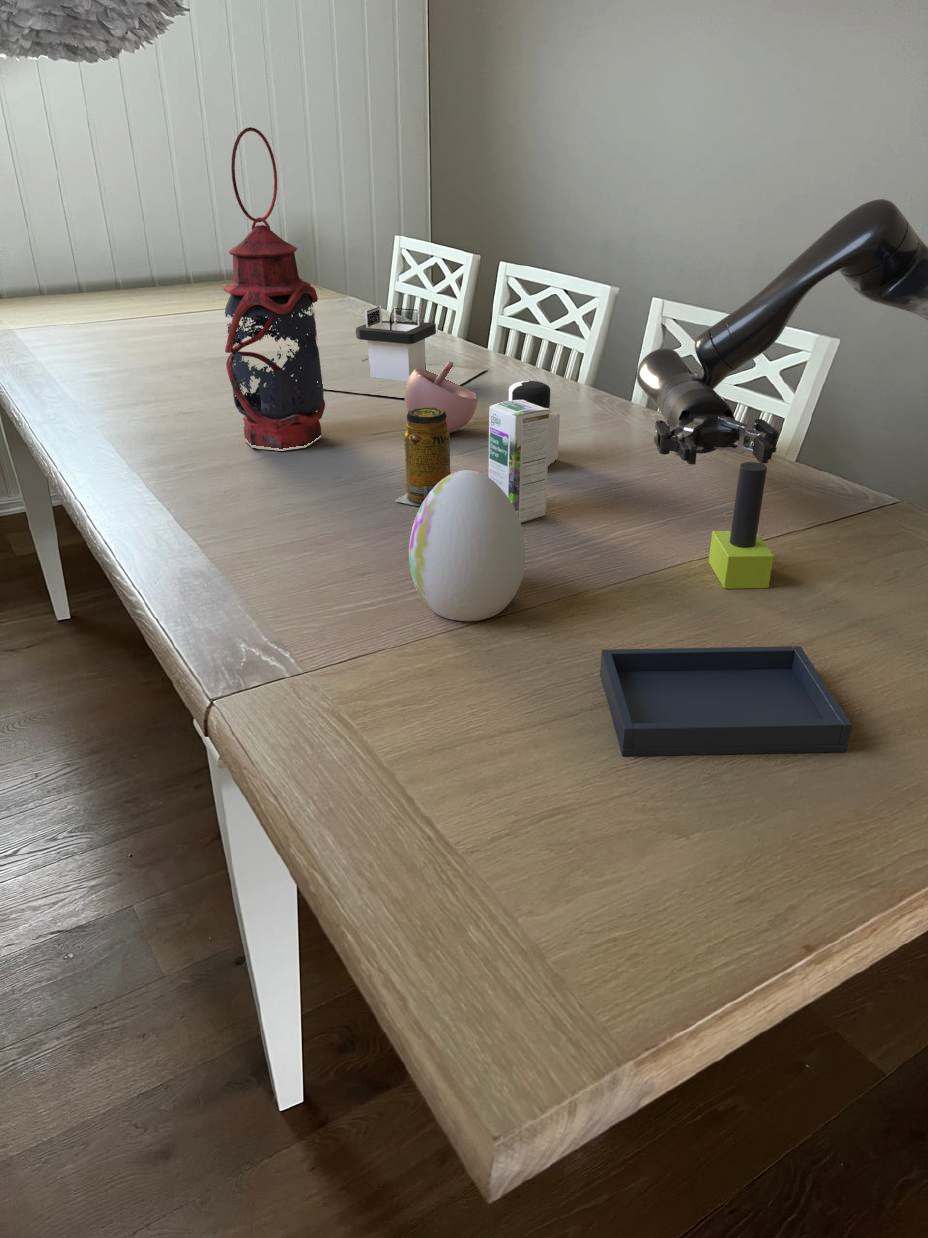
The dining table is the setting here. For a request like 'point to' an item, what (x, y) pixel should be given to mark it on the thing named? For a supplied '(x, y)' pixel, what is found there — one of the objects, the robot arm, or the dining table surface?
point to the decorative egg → (467, 548)
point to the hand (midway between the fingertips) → (730, 456)
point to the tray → (720, 702)
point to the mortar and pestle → (440, 396)
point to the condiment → (425, 453)
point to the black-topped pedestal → (395, 343)
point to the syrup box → (520, 454)
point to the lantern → (273, 335)
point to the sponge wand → (743, 536)
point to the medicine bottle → (541, 397)
